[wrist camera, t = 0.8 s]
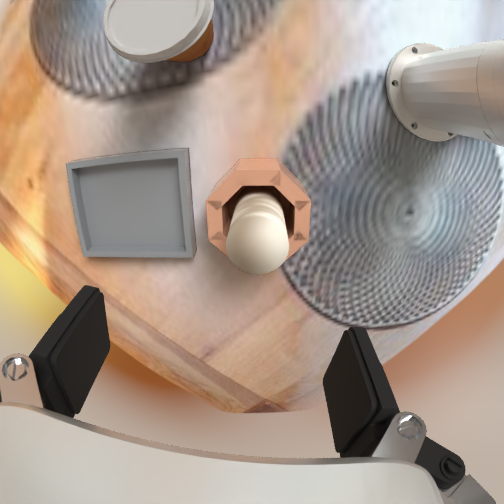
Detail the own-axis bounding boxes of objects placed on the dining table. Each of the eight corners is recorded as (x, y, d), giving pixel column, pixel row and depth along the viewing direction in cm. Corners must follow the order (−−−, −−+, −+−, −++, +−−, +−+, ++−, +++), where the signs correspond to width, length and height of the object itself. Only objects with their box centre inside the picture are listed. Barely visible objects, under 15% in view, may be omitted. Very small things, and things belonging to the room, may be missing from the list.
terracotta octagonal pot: (302, 159, 34) (312, 170, 27) (299, 239, 38) (306, 266, 32) (215, 159, 34) (204, 170, 28) (219, 239, 38) (210, 265, 32)
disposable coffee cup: (222, 76, 30) (202, 60, 19) (142, 75, 30) (91, 65, 19) (233, 3, 26) (219, -42, 15) (153, 4, 25) (109, -30, 15)
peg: (281, 181, 34) (290, 217, 23) (280, 223, 36) (287, 274, 25) (236, 181, 34) (224, 217, 23) (237, 223, 36) (227, 274, 26)
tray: (189, 147, 34) (184, 150, 32) (196, 249, 39) (193, 257, 37) (74, 160, 34) (65, 163, 32) (90, 249, 40) (83, 256, 38)
